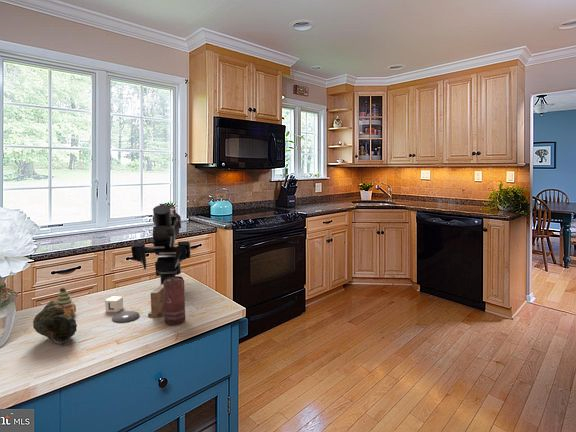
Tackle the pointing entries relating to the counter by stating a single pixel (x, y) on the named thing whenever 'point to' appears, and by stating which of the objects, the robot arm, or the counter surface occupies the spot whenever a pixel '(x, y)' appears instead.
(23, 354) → the counter surface
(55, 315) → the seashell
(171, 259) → the robot arm
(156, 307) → the screen
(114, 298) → the letter block
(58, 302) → the ornament
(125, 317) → the coaster
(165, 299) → the can
